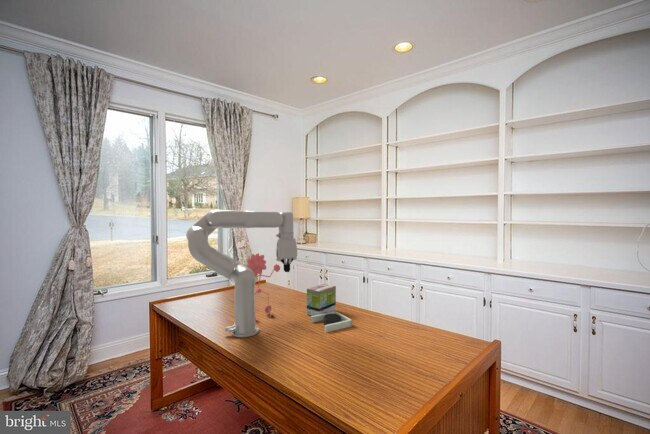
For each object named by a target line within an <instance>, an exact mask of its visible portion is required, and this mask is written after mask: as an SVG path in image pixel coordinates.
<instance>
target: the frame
mask: <svg viewBox="0 0 650 434" xmlns="http://www.w3.org/2000/svg"><path fill="white" fill-rule="evenodd" d="M328 314H337V315H339V316H340V317H341V322H337V323H333V324H328V325H325V324H324V332H325V333H328V332H333V331H336V330H341V329H342V330H343V329H346V328H351V327H353V319H351V318H349V317H347V316H346V315H345V314H342V313H340V312H338V311H334V312H330V313H325V314H320V315H315V316H311V315H310V322H311V323H317V322H323V318H324V316H325V315H328Z"/></svg>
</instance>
